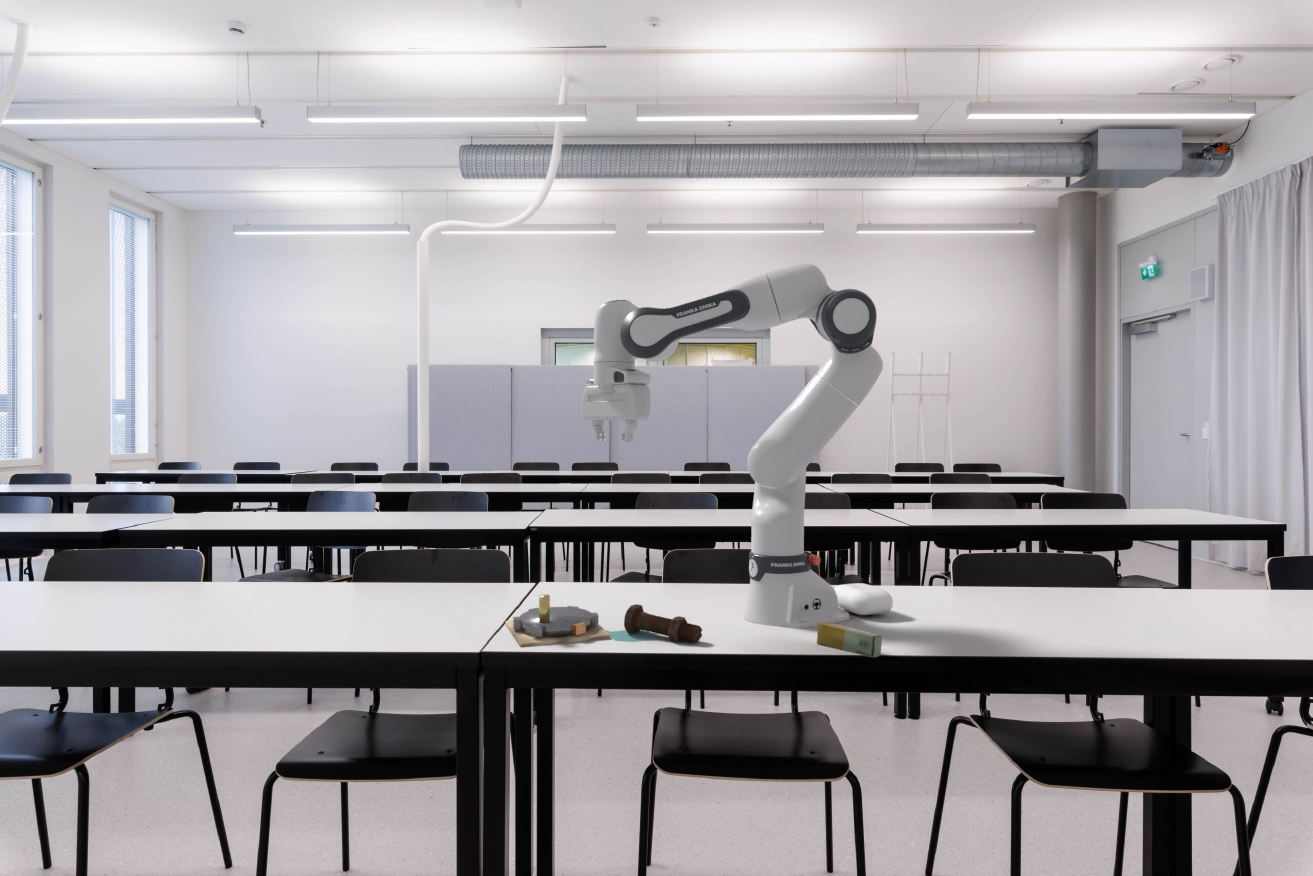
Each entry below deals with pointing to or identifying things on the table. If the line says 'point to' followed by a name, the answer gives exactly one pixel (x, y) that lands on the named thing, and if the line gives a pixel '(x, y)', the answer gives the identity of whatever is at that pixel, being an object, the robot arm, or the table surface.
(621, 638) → the pad
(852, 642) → the medication box
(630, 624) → the bolt
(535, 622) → the sprocket
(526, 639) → the sprocket base
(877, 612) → the earbud case
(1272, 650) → the table surface
